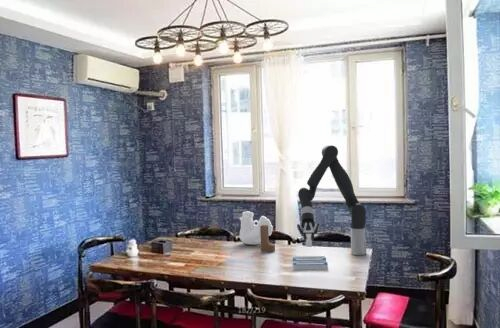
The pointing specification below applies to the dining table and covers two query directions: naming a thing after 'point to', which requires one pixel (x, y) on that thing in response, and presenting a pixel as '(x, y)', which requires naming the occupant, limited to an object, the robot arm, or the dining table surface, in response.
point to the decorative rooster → (252, 228)
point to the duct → (309, 262)
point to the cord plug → (308, 238)
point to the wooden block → (266, 240)
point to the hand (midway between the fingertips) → (308, 239)
